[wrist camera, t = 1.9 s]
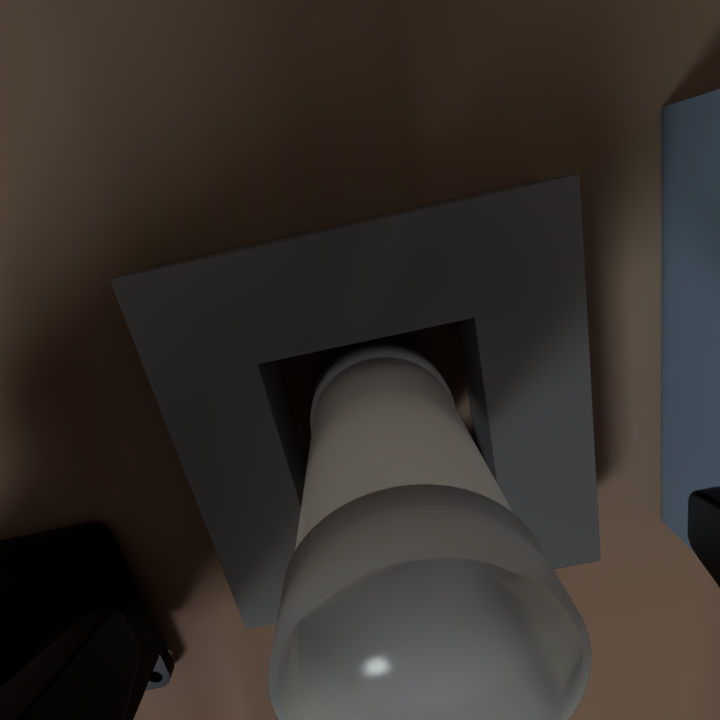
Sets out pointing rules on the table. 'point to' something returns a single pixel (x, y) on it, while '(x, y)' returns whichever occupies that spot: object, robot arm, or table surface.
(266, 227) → the table surface
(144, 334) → the grey flat square frame
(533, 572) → the grey rounded piece
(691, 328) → the parts tray
